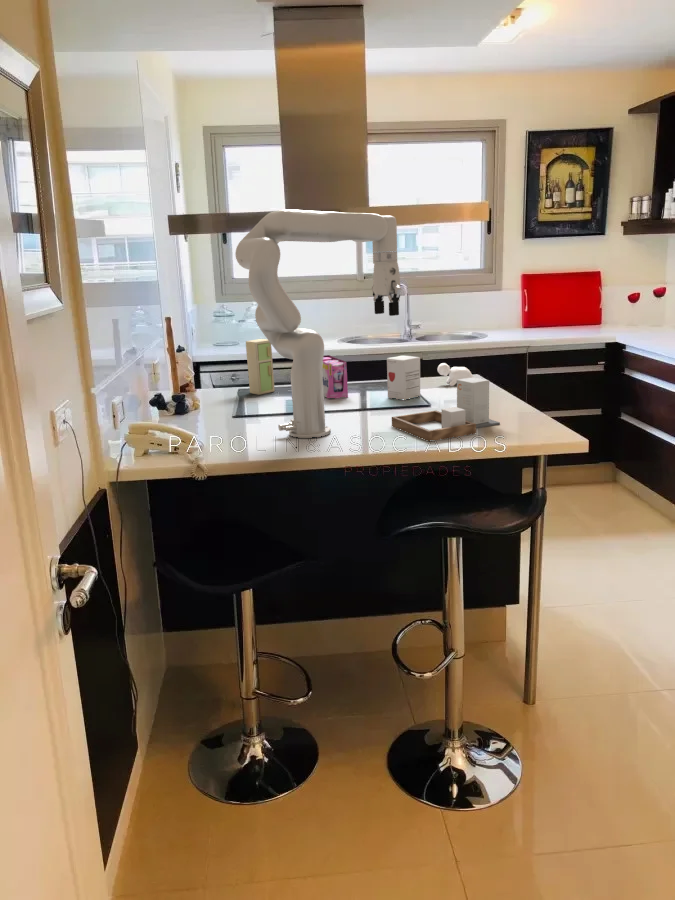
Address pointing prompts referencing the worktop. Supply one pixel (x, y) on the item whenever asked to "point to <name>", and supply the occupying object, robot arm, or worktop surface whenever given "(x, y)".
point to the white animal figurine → (454, 373)
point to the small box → (474, 399)
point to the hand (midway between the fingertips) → (386, 314)
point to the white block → (453, 417)
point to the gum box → (334, 377)
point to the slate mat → (487, 424)
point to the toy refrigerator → (260, 366)
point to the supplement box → (403, 377)
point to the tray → (407, 425)
